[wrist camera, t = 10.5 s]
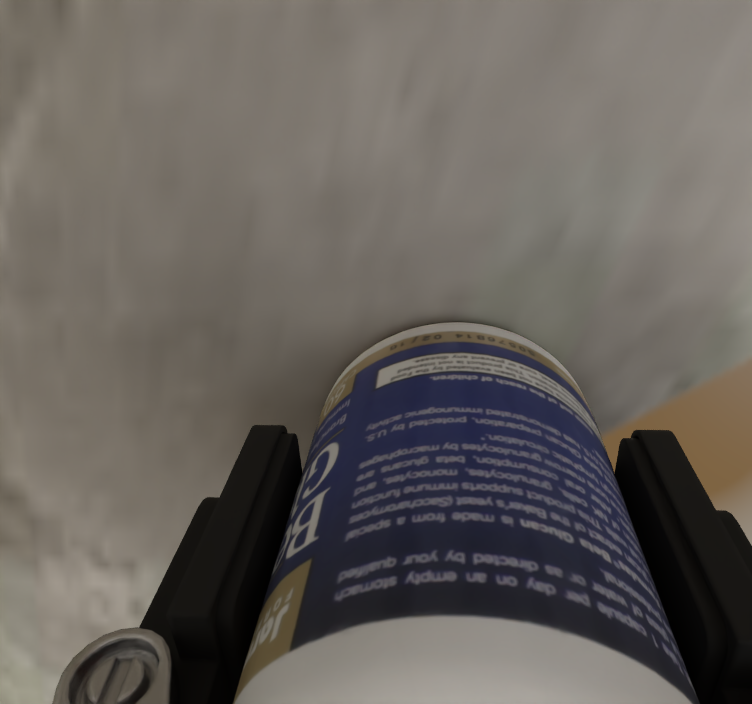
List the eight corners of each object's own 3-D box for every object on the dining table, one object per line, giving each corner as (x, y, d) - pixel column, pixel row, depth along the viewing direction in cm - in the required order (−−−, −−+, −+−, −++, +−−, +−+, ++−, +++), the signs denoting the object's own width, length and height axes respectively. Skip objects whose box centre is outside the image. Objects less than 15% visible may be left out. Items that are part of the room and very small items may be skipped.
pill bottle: (307, 315, 12) (-70, 1166, 3) (603, 309, 11) (1176, 1352, 2) (334, 527, 14) (172, 1311, 6) (575, 533, 14) (803, 1415, 5)
